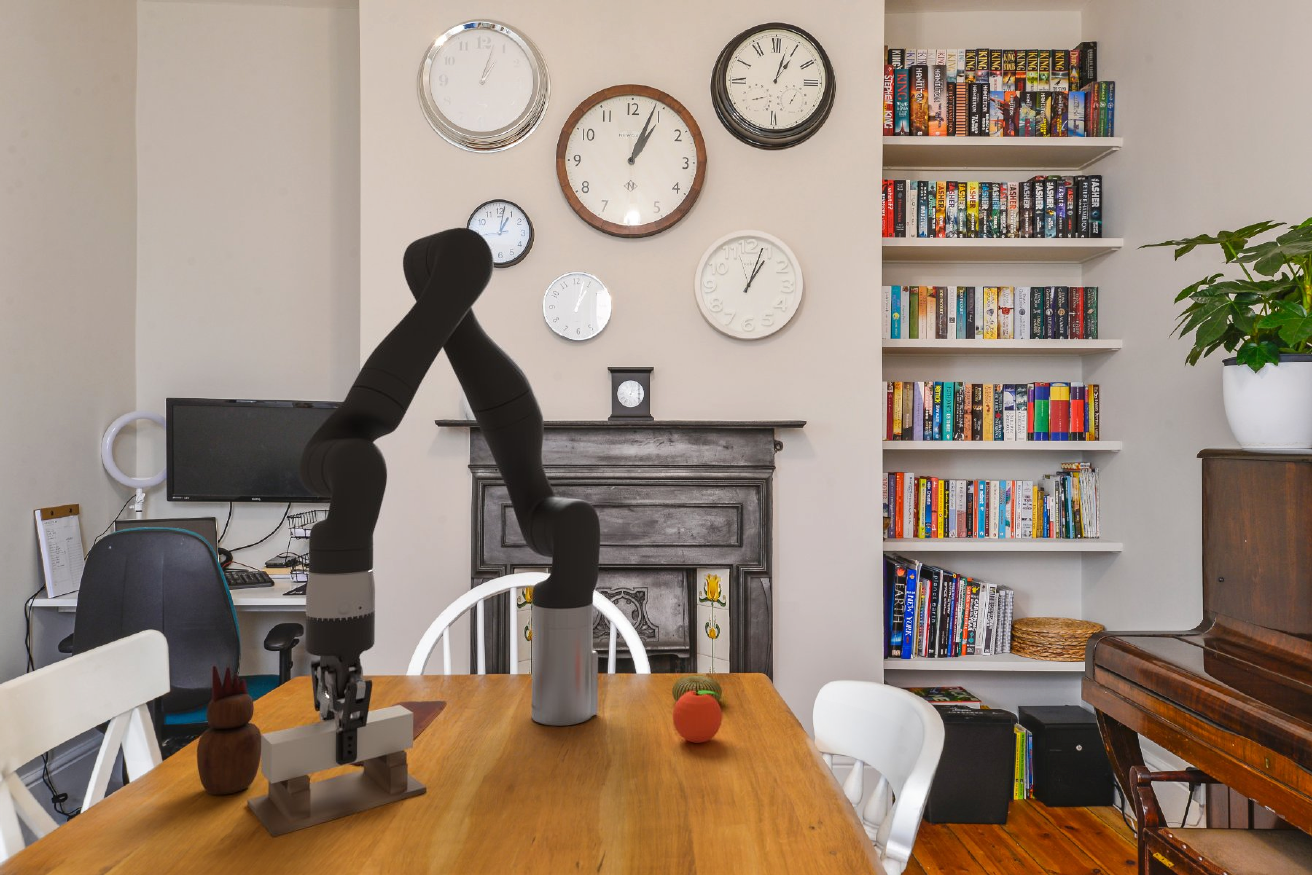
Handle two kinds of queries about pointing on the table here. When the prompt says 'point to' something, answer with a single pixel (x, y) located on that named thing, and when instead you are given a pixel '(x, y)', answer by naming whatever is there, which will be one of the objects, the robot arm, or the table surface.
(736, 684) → the table surface
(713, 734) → the clementine
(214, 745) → the wooden figurine
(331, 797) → the rack
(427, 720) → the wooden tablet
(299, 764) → the white rectangular block
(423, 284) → the robot arm
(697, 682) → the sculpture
